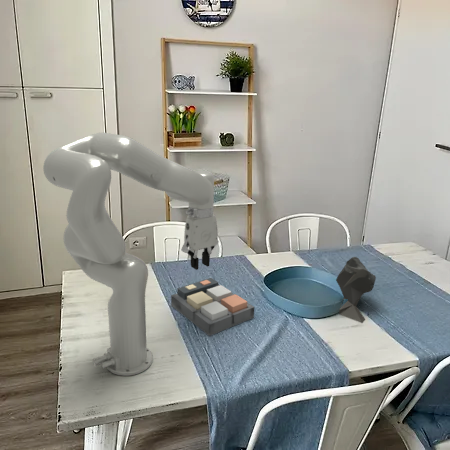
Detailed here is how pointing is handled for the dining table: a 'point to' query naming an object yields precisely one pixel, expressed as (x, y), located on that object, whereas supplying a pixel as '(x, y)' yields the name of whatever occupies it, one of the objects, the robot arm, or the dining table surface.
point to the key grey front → (214, 311)
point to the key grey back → (218, 293)
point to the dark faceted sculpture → (354, 287)
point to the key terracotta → (234, 303)
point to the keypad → (195, 315)
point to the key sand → (199, 300)
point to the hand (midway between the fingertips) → (200, 266)
